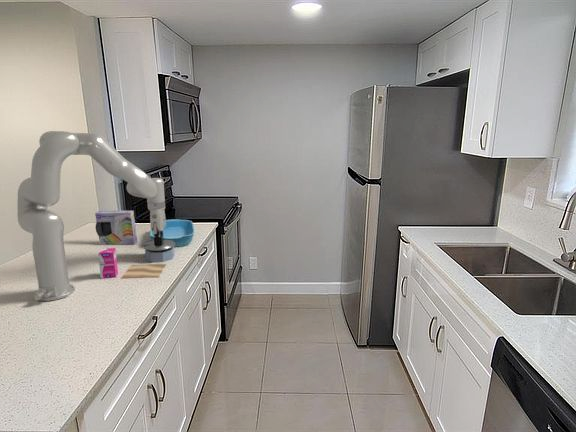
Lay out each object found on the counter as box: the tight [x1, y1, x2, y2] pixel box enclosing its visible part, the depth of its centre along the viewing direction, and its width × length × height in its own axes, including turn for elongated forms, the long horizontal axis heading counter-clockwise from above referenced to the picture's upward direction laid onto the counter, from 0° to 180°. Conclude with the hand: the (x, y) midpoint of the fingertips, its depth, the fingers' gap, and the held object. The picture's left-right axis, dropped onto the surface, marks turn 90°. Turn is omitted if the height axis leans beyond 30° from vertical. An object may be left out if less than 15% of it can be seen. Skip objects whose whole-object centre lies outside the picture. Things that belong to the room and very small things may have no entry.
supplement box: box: [97, 247, 119, 280], centre depth 150 cm, size 6×6×12 cm
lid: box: [142, 234, 175, 251], centre depth 170 cm, size 14×14×5 cm
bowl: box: [144, 247, 175, 263], centre depth 172 cm, size 12×12×5 cm
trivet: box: [120, 263, 167, 280], centre depth 157 cm, size 15×15×1 cm
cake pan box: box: [94, 209, 138, 246], centre depth 191 cm, size 19×5×18 cm, turn 92°
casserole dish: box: [149, 218, 195, 248], centre depth 201 cm, size 37×22×7 cm, turn 17°
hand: (159, 243), depth 171 cm, fingers closed on lid, 3 cm apart
